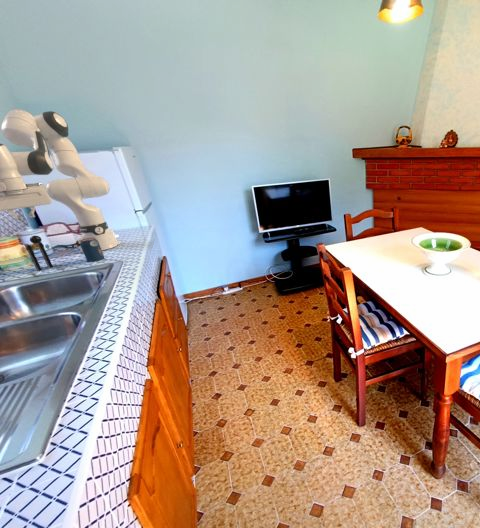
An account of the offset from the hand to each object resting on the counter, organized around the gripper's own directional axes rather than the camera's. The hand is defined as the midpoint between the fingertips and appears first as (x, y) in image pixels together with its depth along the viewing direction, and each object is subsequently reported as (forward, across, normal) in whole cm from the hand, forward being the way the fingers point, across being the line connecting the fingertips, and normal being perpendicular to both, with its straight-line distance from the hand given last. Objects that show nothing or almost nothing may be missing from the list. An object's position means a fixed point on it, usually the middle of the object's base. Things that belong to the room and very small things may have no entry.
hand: (25, 218), depth 128 cm
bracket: (+26, 0, -9) cm, 28 cm away
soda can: (+26, -17, +1) cm, 31 cm away
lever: (+13, 0, -3) cm, 14 cm away
